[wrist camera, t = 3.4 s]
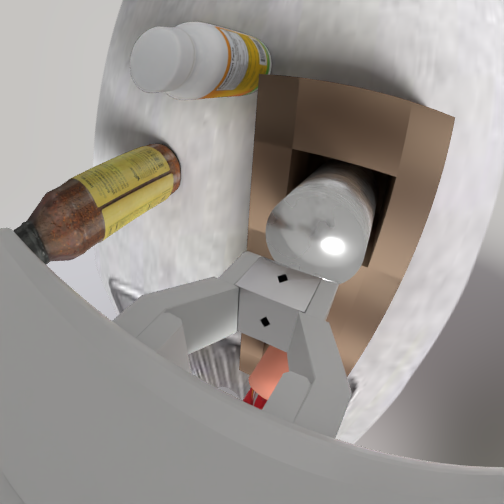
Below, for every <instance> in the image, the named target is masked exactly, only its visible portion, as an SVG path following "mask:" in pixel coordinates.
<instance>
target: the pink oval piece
mask: <svg viewBox="0 0 504 504" xmlns="http://www.w3.org/2000/svg"><path fill="white" fill-rule="evenodd" d="M286 372H289V367H288V359H287V352H284V351H282V350H280V349H278V348H275V347H273V346H271V345H269V347H268V348H267V350H266V352H265V353H264V355H263V356H262V358H261V360H260V361H259V363H258V364H257V366H256V367H255V369H254V371H253V372H252V374H251V375H250V377H249V384H250V386H251V387H252V389H253V390H254V391H255V392H256V393H257V394H259V395H260V396H261V397H263V398H264V399H266V400H268V399H269V397H270V396H271V394H272V392H273V390H274V389H275V387H276V385H277V384H278V382H279V380H280V378H281V377H282V375H283V373H286Z"/></svg>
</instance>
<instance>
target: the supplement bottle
mask: <svg viewBox="0 0 504 504" xmlns="http://www.w3.org/2000/svg"><path fill="white" fill-rule="evenodd" d="M271 66H272V61H271V55H270V52H269V50H268V49H267V47H266V46H265V45H264V43H263V42H261V41H260V40H259V39H257V38H255V37H253V36H250V35H247V34H244V33H241V32H237V31H234V30H230V29H227V28H223V27H219V26H215V25H212V24H207V23H203V22H186V23H182V24H179V25H177V26H175V27H162V26H159V27H154V28H151V29H149V30H147V31H146V32H144V33H143V34H142V35H141V36H140V37H139V38H138V40H137V41H136V43H135V45H134V47H133V49H132V52H131V56H130V73H131V77H132V79H133V81H134V83H135V84H136V86H137V87H138V88H139V89H141V90H142V91H144V92H148V93H158V92H165V93H166V94H167V95H169V96H171V97H173V98H175V99H179V100H196V99H205V98H216V97H231V96H243V95H248V94H251V93H253V92H255V91H257V90H258V82H259V74H268V75H270V72H271Z"/></svg>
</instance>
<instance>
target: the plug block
mask: <svg viewBox="0 0 504 504" xmlns="http://www.w3.org/2000/svg"><path fill="white" fill-rule="evenodd" d="M454 121H455V117H452V116H450V115H447V114H445V113H442V112H440V111H437V110H434V109H432V108H429V107H426V106H423V105H420V104H417V103H414V102H411V101H408V100H405V99H401V98H398V97H395V96H391V95H387V94H384V93H380V92H376V91H372V90H368V89H363V88H359V87H354V86H349V85H344V84H339V83H334V82H328V81H322V80H315V79H308V78H300V77H291V76H281V75H268V74H259V82H258V95H257V109H256V122H255V136H254V151H253V165H252V179H251V194H250V209H249V224H248V239H247V251H249V252H252V253H255V254H257V255H260V256H263V257H266V258H268V259H271V260H273V261H275V260H274V259H273V257H272V256H271V254H270V251H269V249H268V246H267V242H266V234H265V233H266V224H267V220H268V217H269V215H270V213H271V212H272V210H273V209H274V207H275V206H276V205H277V204H278V203H280V202H281V201H282V200H283V199H284V198H285V197H286V196H287V195H288V194H290V193H291V192H292V191H293V190H294V189H295V188H296V187H297V186H299V185H300V184H301V183H302V182H303V181H304V180H305V179H306V178H308V177H309V176H310V175H311V174H312V173H313V172H314V171H315V170H317V169H318V168H319V167H320V166H321V165H322V164H323V163H325V162H326V161H327V160H329V159H331V158H334V159H337V160H341V161H345V162H349V163H352V164H356V165H359V166H363V167H366V168H369V169H371V170H372V172H373V173H374V175H375V177H376V179H377V182H378V188H379V194H378V200H377V205H376V209H375V214H374V219H373V223H372V228H371V232H370V236H369V240H368V245H367V249H366V252H365V256H364V260H363V263H362V265H361V267H360V268H359V270H358V271H357V273H356V274H355V275H354V276H353V277H352V278H350V279H349V280H347V281H346V282H344V283H342V284H339V286H338V289H337V291H336V294H335V297H334V300H333V303H332V305H331V308H330V311H329V314H328V316H327V319H326V322H329V324H330V327H331V330H332V333H333V336H334V339H335V342H336V345H337V348H338V351H339V354H340V357H341V360H342V363H343V366H344V369H345V373H346V376H348V375H349V373H350V372H351V370H352V369H353V367H354V366H355V364H356V363H357V361H358V359H359V358H360V356H361V355H362V353H363V351H364V350H365V348H366V346H367V345H368V343H369V341H370V340H371V338H372V336H373V334H374V333H375V331H376V329H377V327H378V326H379V324H380V322H381V320H382V318H383V316H384V315H385V313H386V311H387V309H388V307H389V305H390V303H391V301H392V299H393V297H394V295H395V293H396V291H397V289H398V287H399V285H400V283H401V281H402V279H403V277H404V274H405V272H406V270H407V268H408V265H409V263H410V261H411V259H412V256H413V254H414V252H415V249H416V247H417V244H418V242H419V239H420V237H421V234H422V232H423V229H424V226H425V224H426V221H427V218H428V215H429V213H430V210H431V207H432V204H433V201H434V198H435V195H436V192H437V188H438V185H439V182H440V178H441V175H442V171H443V168H444V164H445V160H446V157H447V153H448V148H449V144H450V140H451V135H452V131H453V126H454ZM268 347H269V344H267V343H265V342H262V341H260V340H258V339H255V338H253V337H250V336H248V335H246V334H243V333H241V350H240V367H239V370H241V371H243V372H245V373H247V374H249V375H251V374H252V372H253V371H254V369H255V367H256V366H257V364H258V363H259V361H260V360H261V358H262V356H263V355H264V353H265V352H266V350H267V348H268Z"/></svg>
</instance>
